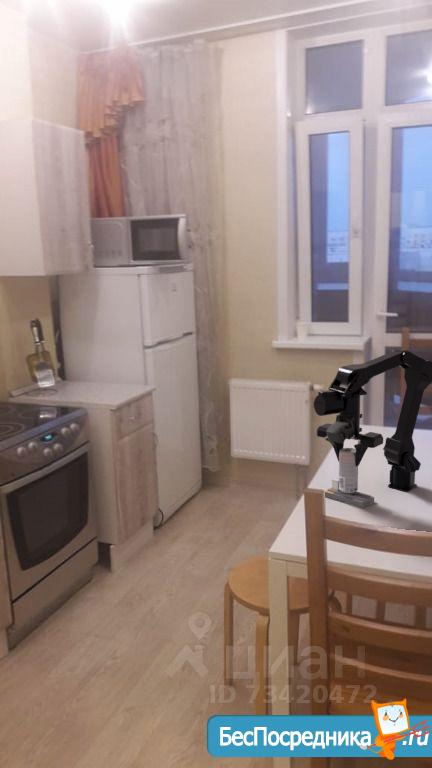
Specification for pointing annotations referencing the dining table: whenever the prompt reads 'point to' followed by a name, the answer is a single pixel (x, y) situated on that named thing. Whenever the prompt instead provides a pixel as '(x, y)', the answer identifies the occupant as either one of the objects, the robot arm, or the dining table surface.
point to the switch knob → (335, 484)
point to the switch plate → (350, 497)
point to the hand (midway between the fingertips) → (348, 463)
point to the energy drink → (348, 471)
